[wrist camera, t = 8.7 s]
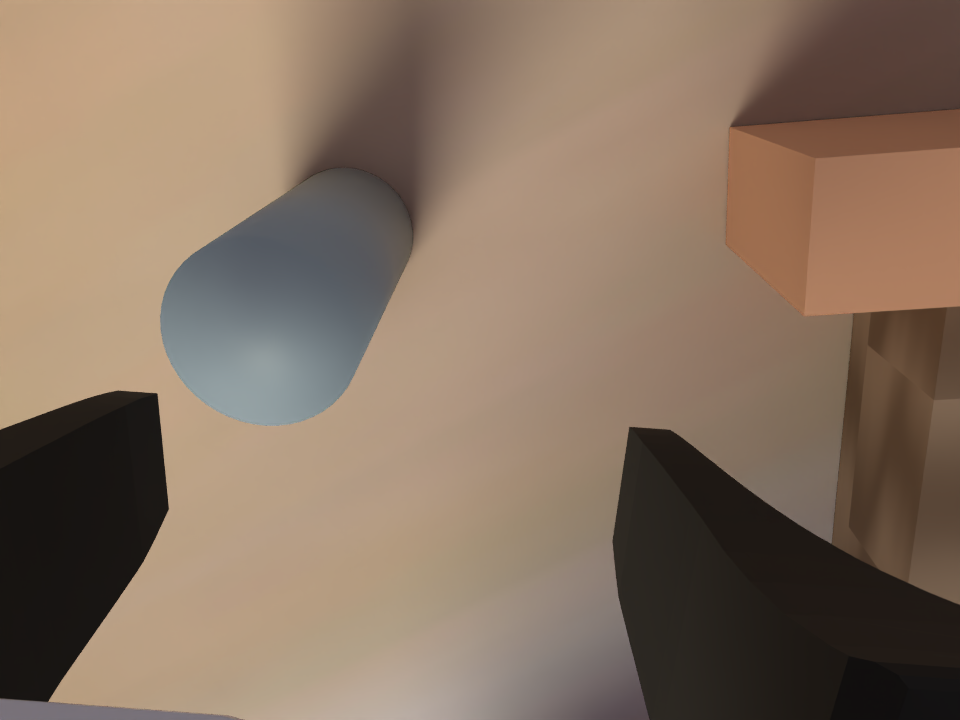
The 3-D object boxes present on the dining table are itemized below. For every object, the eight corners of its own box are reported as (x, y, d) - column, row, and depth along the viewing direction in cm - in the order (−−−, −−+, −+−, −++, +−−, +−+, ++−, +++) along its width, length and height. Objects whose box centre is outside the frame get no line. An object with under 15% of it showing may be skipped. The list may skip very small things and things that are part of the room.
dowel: (419, 292, 22) (373, 419, 14) (294, 300, 22) (184, 431, 15) (404, 162, 20) (345, 228, 13) (272, 172, 21) (139, 244, 13)
